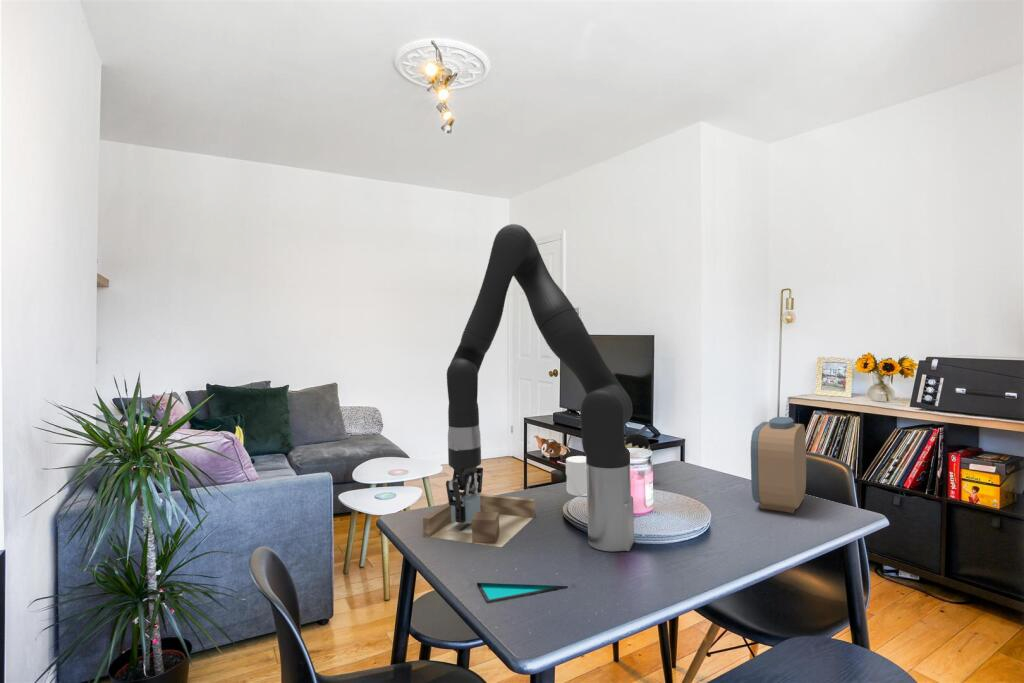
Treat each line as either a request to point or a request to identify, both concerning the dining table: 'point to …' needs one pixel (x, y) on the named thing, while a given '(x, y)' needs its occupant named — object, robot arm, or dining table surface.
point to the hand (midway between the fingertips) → (466, 517)
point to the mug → (576, 475)
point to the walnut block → (485, 527)
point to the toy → (637, 442)
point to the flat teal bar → (512, 590)
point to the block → (468, 507)
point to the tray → (510, 511)
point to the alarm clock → (778, 464)
